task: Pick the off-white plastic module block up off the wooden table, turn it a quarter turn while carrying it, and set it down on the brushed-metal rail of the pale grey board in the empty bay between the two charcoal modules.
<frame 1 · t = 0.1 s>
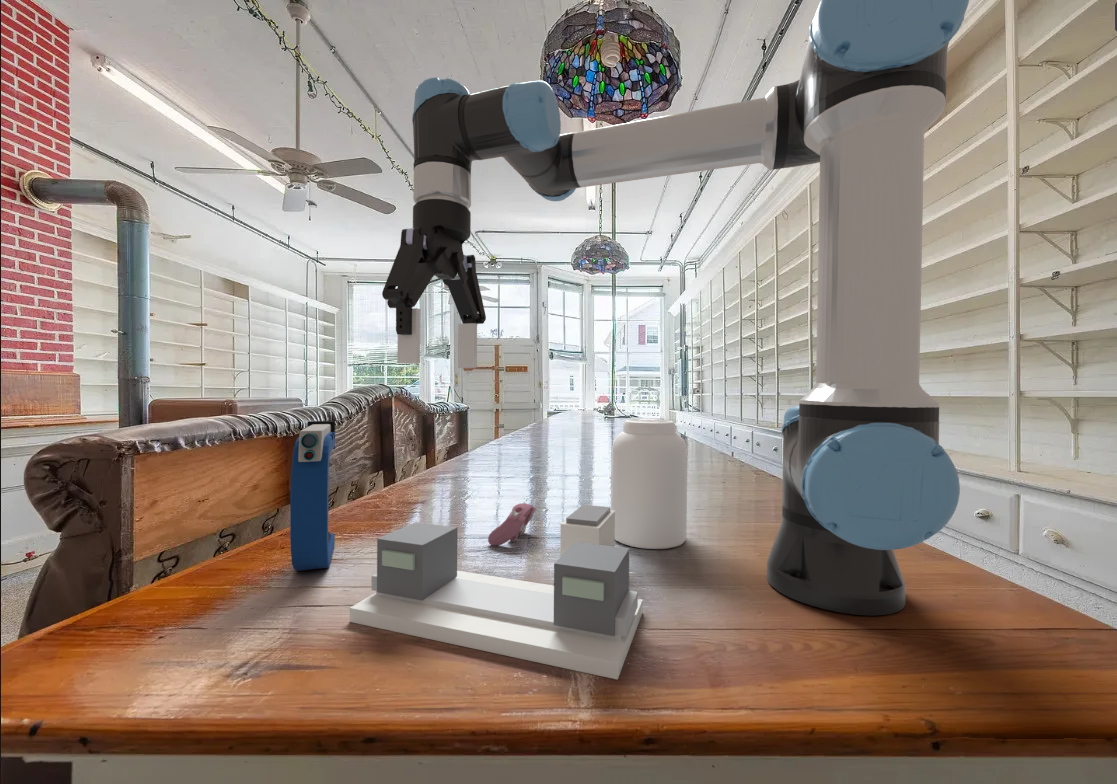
hand: (441, 366, 64), 28 cm above the table, fingers open, 13 cm apart
white jar: (648, 539, 80), on the table
handheld scanner: (314, 563, 68), on the table
pink rounded piece: (513, 539, 79), on the table
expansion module: (588, 576, 64), on the table
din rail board: (499, 617, 52), on the table
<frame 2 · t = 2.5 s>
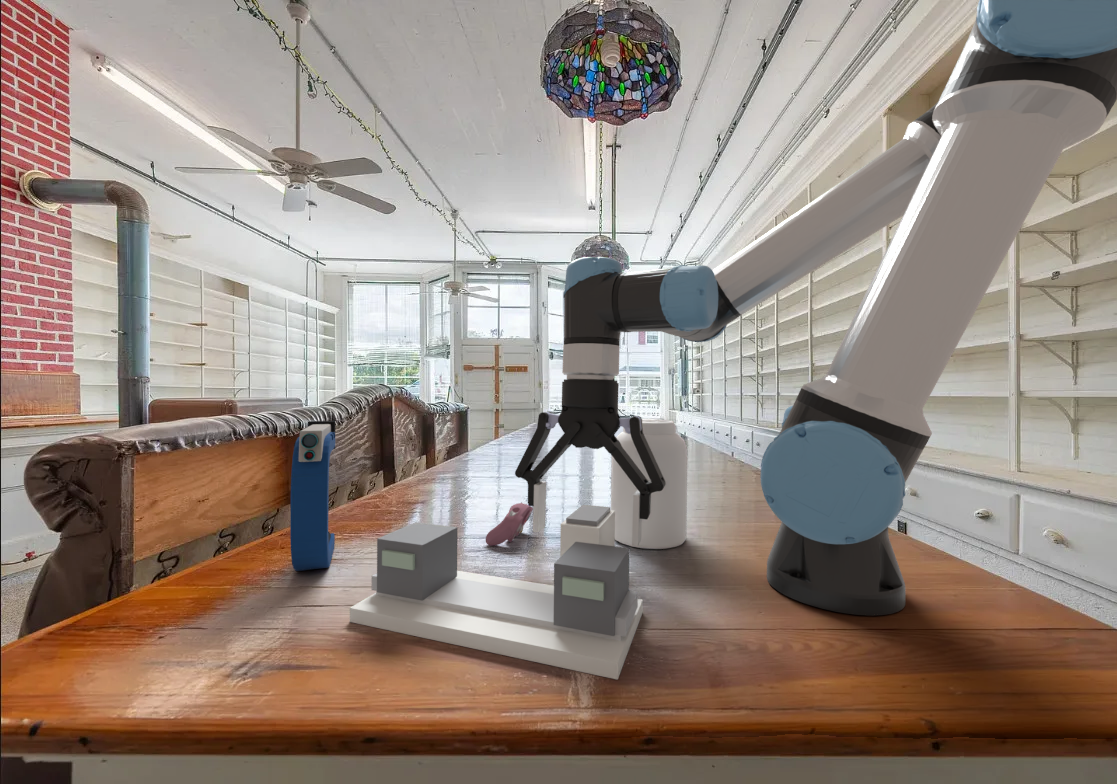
hand: (586, 536, 64), 5 cm above the table, fingers open, 13 cm apart
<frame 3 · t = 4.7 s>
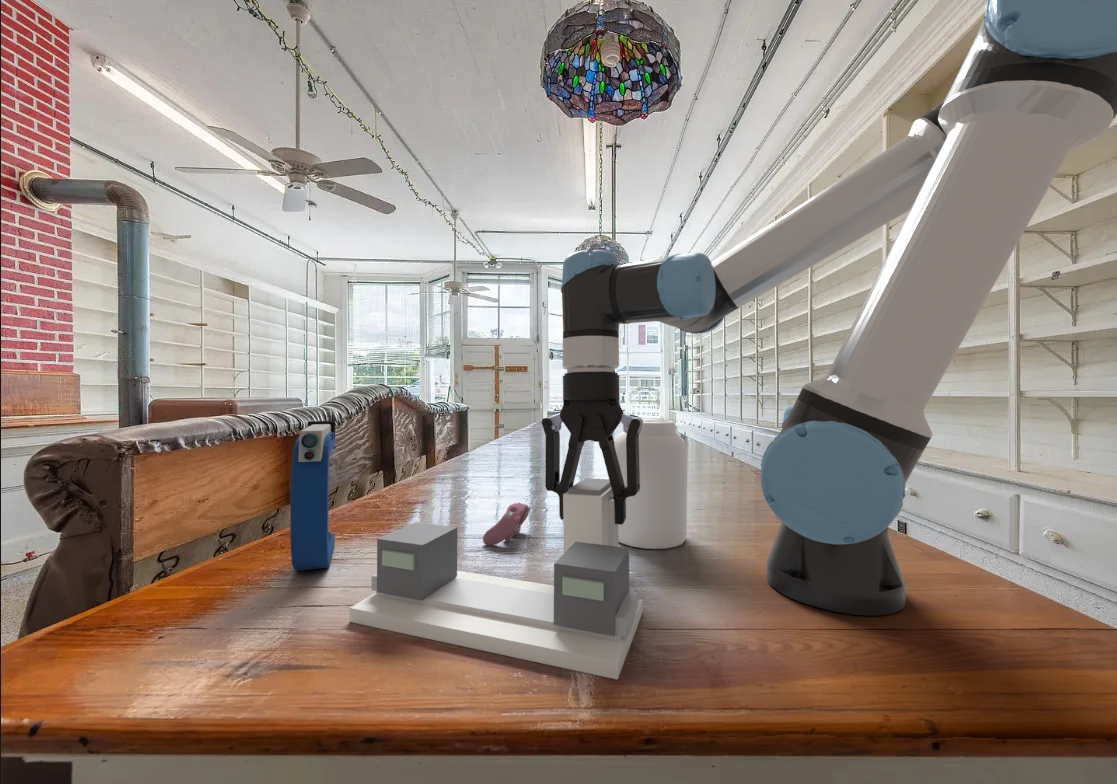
hand: (592, 545, 63), 4 cm above the table, fingers closed on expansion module, 5 cm apart
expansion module: (592, 548, 63), point 4 cm above the table, touching gripper
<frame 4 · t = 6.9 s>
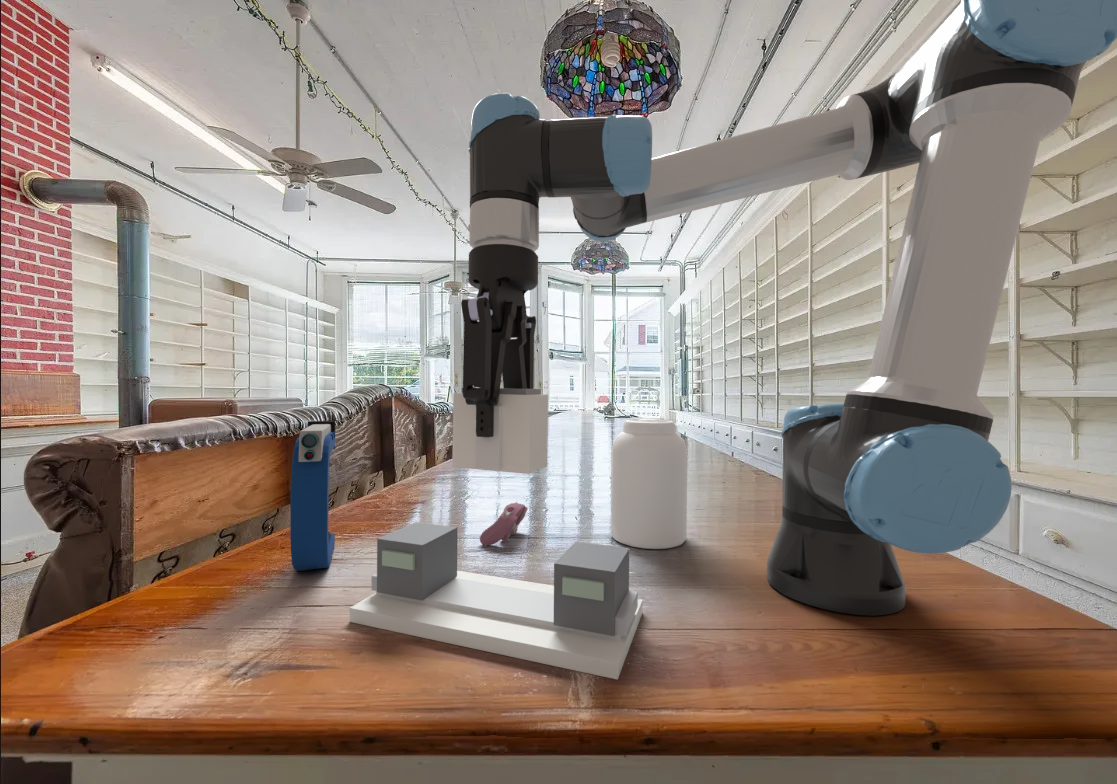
hand: (500, 463, 52), 17 cm above the table, fingers closed on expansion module, 5 cm apart
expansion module: (500, 466, 52), point 16 cm above the table, touching gripper
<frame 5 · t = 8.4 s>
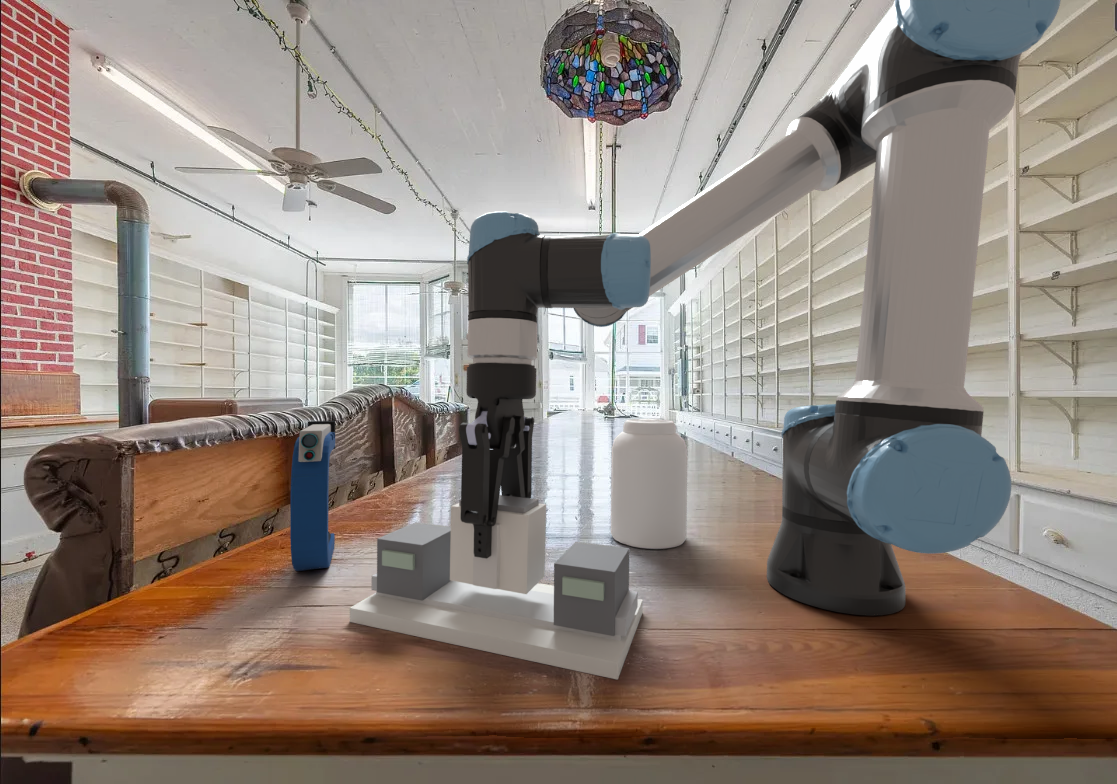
hand: (498, 575, 52), 5 cm above the table, fingers closed on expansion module, 5 cm apart
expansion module: (497, 578, 52), point 4 cm above the table, touching gripper
when the fingers open (3 cm above the table, at t = 9.0 s): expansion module stays where it is, resting on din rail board.
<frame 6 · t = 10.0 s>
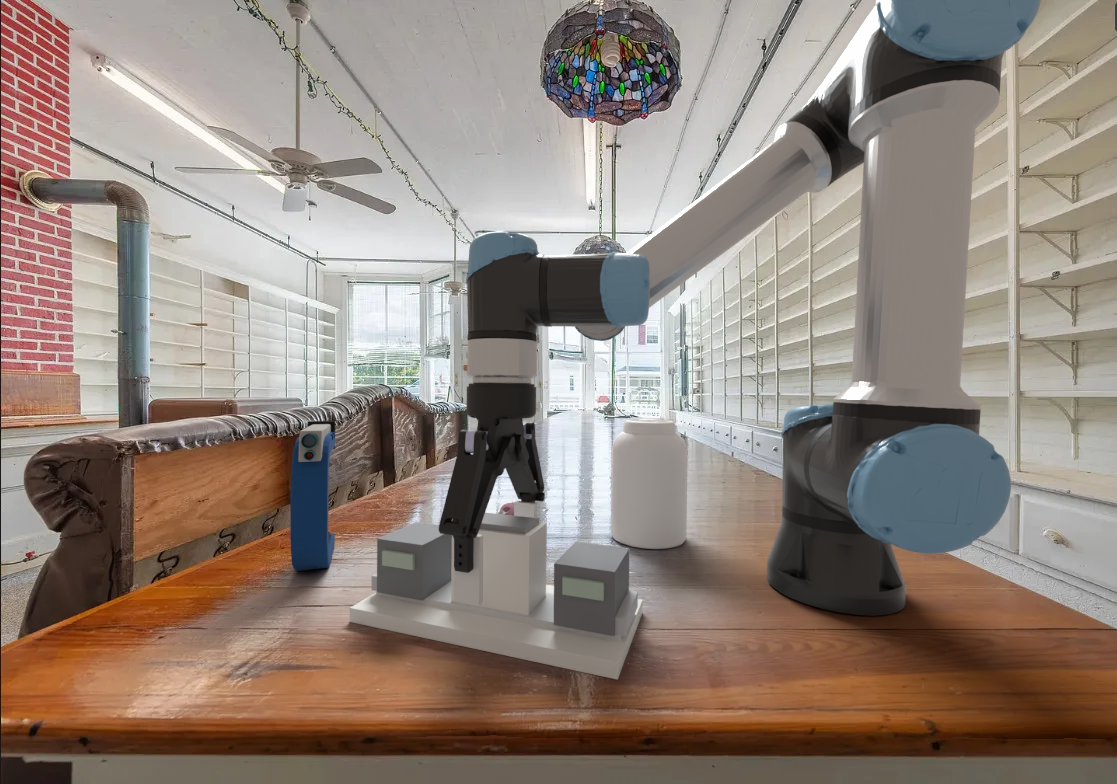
hand: (500, 576, 52), 5 cm above the table, fingers open, 13 cm apart
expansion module: (499, 598, 52), point 2 cm above the table, touching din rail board
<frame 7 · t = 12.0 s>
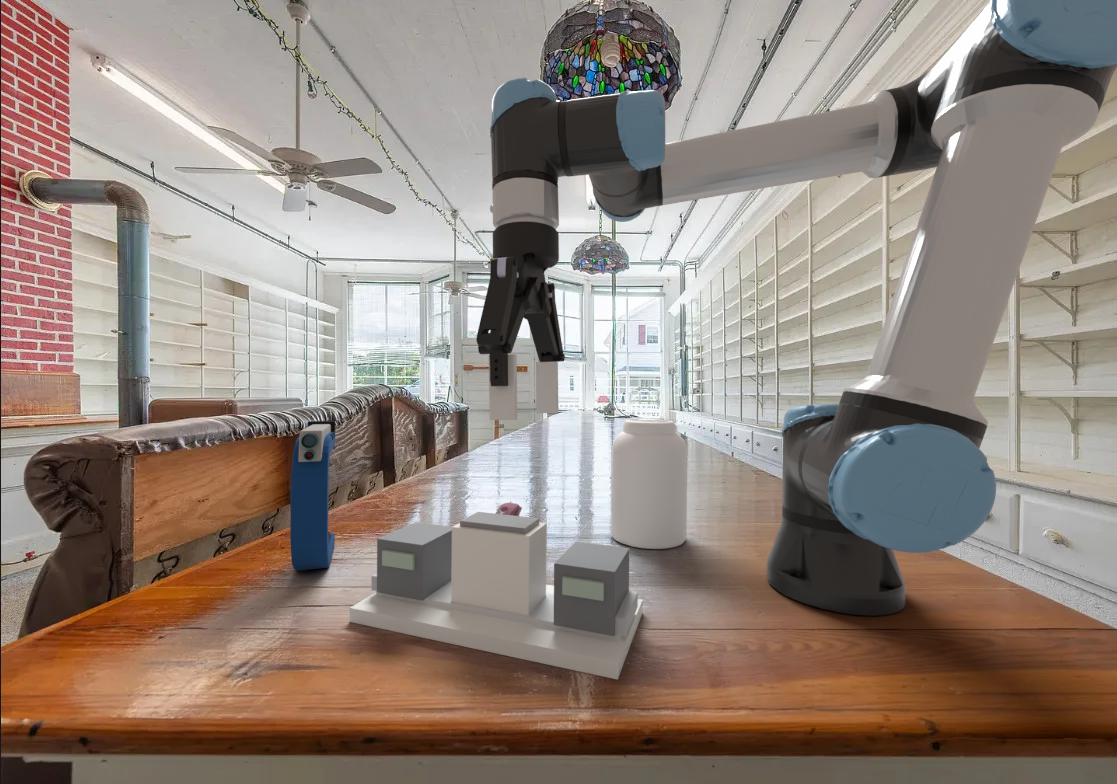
hand: (528, 416, 54), 22 cm above the table, fingers open, 13 cm apart
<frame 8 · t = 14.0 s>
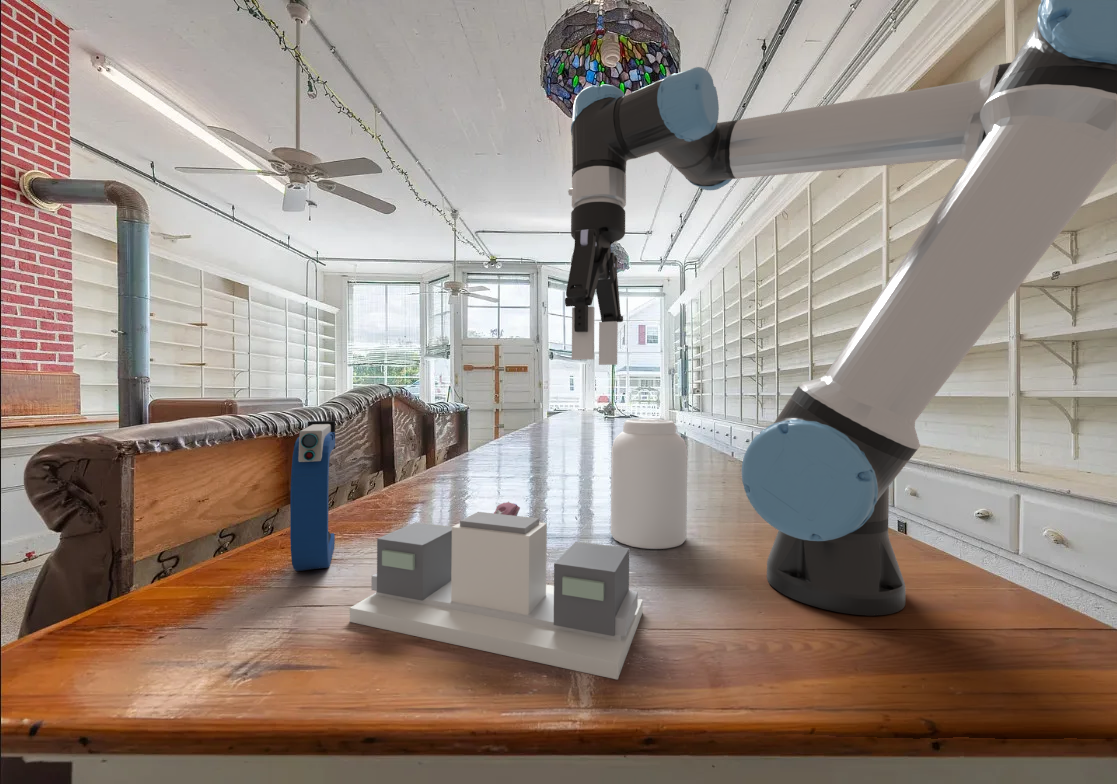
hand: (596, 362, 66), 29 cm above the table, fingers open, 13 cm apart
at the end: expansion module 0.1 cm off-centre on the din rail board, point 2.1 cm above the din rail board's base; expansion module tilted 0°; the gripper is holding nothing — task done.
